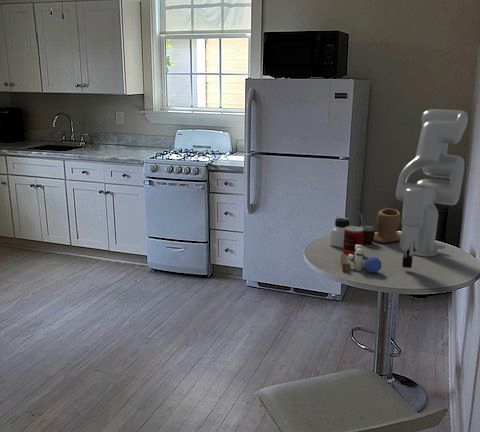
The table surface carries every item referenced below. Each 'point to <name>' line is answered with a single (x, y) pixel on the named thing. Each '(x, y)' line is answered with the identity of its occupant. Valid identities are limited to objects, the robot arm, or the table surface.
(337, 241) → the medicine bottle
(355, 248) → the back pin right
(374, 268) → the ball
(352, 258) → the front pin
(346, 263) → the stopper wall
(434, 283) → the table surface
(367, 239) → the mate gourd
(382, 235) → the stone cup
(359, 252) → the back pin left
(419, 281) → the table surface
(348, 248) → the canned food
